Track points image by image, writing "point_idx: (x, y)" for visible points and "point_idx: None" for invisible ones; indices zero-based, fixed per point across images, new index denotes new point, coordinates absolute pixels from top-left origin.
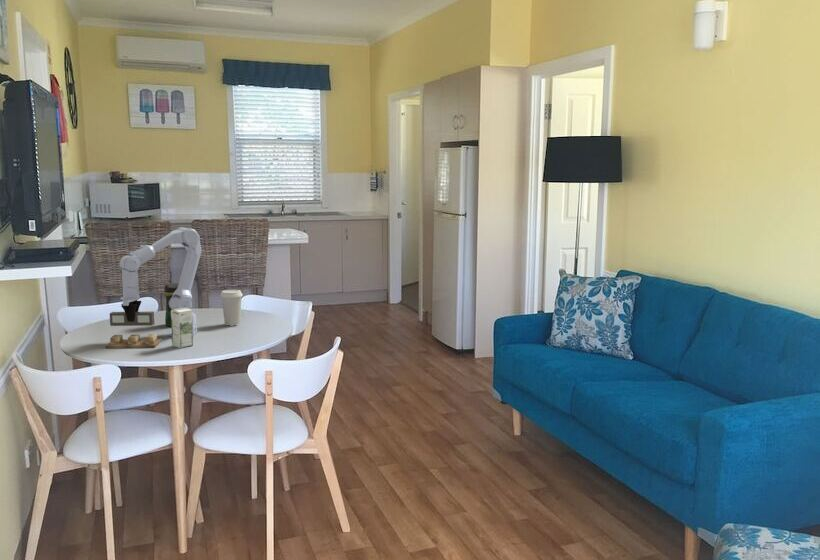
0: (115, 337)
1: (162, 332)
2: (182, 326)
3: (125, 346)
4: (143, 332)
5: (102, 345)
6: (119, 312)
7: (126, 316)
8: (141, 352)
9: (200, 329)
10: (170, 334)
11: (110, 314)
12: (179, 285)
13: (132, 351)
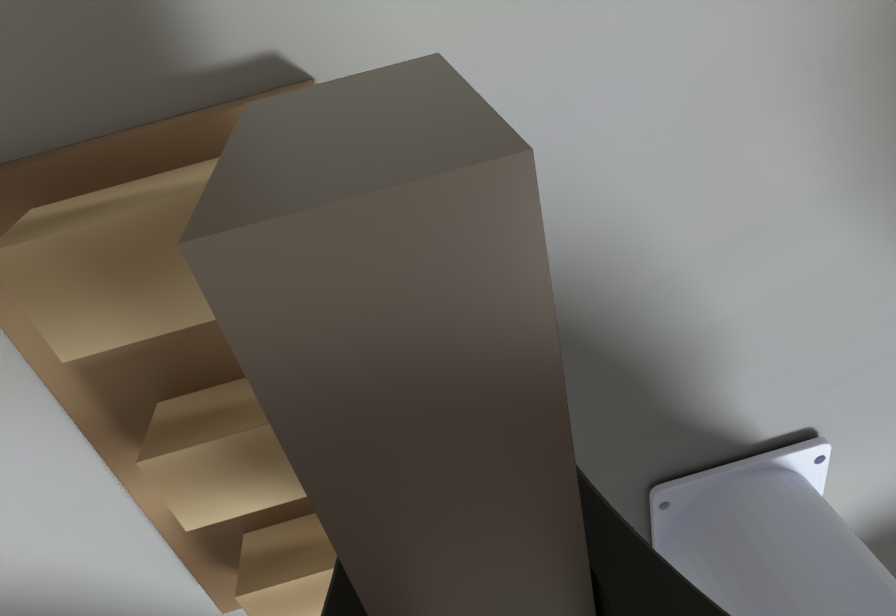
0: (54, 314)
1: (829, 347)
2: None
3: (76, 411)
4: (873, 152)
5: (52, 8)
6: (441, 467)
7: (327, 601)
8: (22, 595)
9: (880, 540)
10: (677, 490)
11: (208, 251)
12: None
13: (5, 522)
